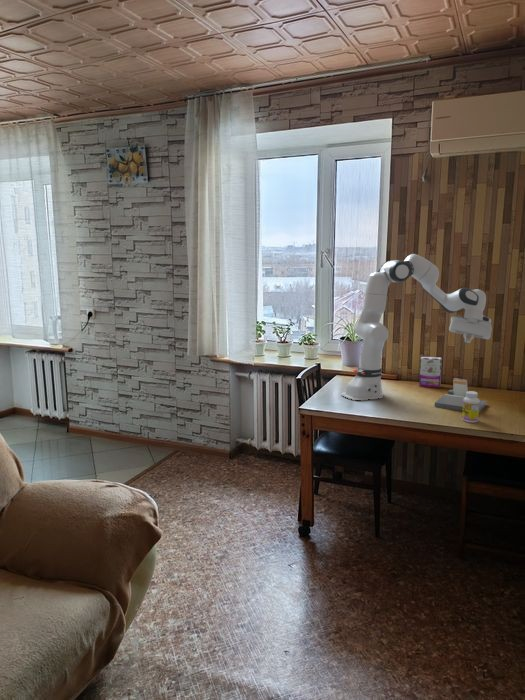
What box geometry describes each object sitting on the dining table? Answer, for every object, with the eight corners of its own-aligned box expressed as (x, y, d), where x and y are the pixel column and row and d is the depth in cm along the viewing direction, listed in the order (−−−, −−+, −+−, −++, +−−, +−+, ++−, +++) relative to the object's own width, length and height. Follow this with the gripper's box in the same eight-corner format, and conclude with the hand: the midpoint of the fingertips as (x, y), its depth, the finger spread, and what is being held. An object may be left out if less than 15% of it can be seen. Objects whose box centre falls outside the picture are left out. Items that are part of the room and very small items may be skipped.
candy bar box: (440, 386, 278) (442, 357, 275) (440, 388, 274) (441, 359, 271) (419, 384, 283) (421, 356, 280) (418, 386, 278) (420, 357, 275)
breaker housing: (478, 413, 229) (479, 398, 228) (434, 406, 240) (435, 392, 239) (486, 405, 242) (487, 391, 240) (443, 398, 253) (444, 385, 252)
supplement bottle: (459, 418, 222) (460, 390, 220) (473, 418, 223) (475, 390, 220) (466, 423, 215) (468, 394, 213) (481, 422, 216) (483, 394, 214)
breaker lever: (467, 402, 238) (466, 382, 233) (453, 400, 242) (452, 380, 236) (468, 400, 240) (467, 379, 234) (454, 398, 243) (453, 378, 238)
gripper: (452, 311, 258) (446, 334, 253) (494, 320, 251) (489, 344, 247) (451, 317, 264) (445, 340, 259) (492, 325, 257) (487, 349, 252)
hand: (467, 342), depth 253 cm, fingers closed
